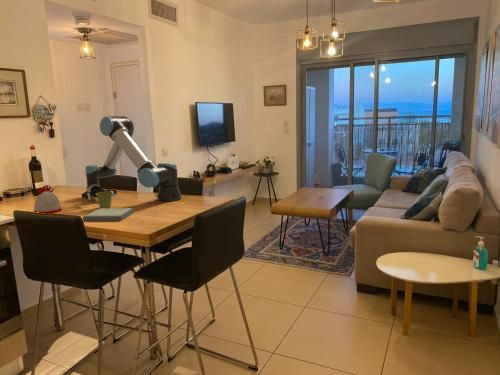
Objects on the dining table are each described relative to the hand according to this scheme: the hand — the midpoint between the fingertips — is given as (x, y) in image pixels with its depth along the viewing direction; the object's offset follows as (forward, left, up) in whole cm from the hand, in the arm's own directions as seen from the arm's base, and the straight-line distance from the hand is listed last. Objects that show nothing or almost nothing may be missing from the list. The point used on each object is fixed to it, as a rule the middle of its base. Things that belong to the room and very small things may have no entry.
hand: (101, 196), depth 222 cm
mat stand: (-16, +26, -6) cm, 32 cm away
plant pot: (-4, +5, -6) cm, 9 cm away
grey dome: (+26, +13, -6) cm, 30 cm away
